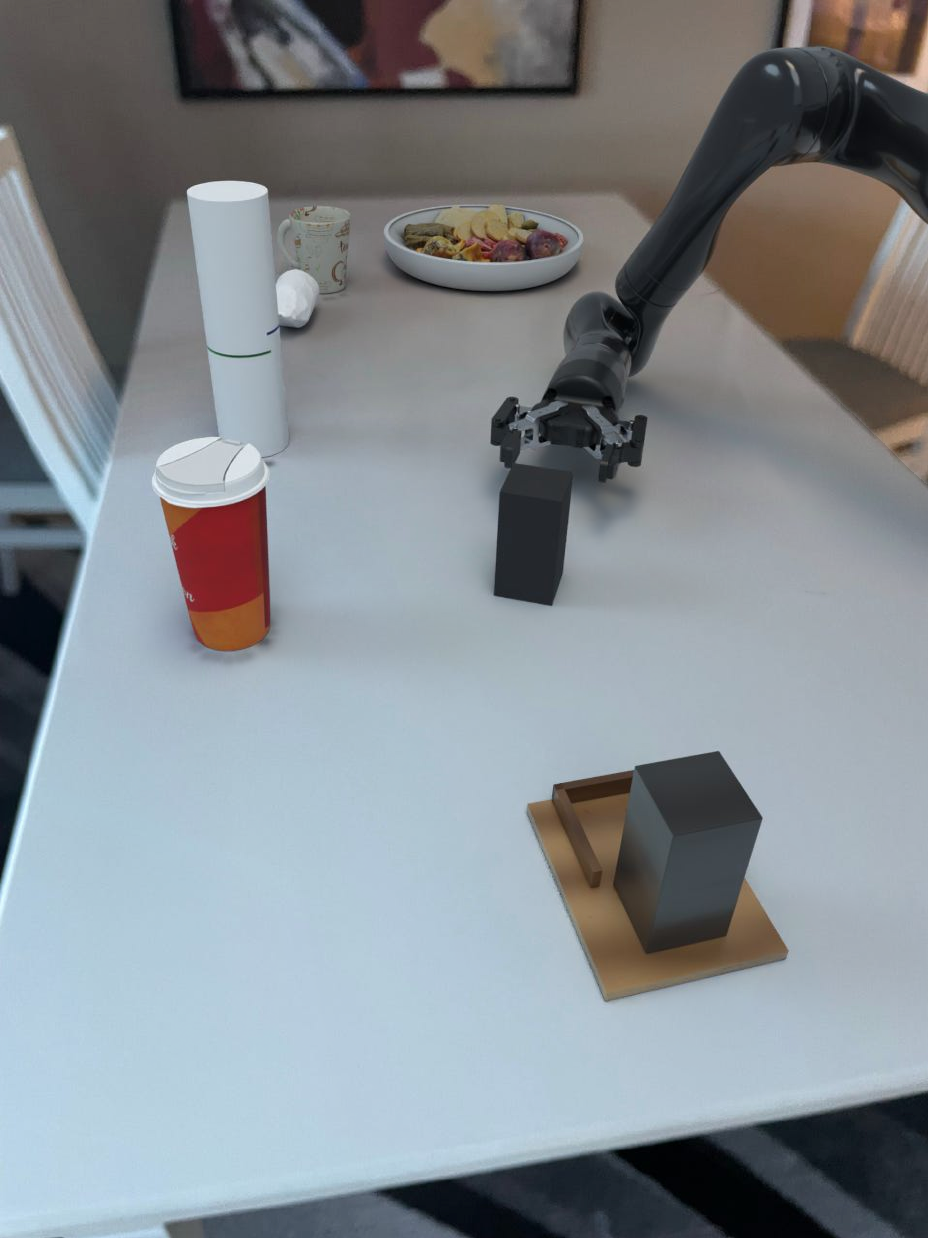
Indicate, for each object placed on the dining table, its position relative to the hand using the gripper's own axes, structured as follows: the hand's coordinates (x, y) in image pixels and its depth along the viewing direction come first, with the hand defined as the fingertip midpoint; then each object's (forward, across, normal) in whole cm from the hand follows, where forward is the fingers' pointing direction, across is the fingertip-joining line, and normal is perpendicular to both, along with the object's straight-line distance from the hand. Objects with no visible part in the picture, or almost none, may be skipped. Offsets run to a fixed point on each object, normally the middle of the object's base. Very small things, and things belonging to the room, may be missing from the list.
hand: (555, 466), depth 88 cm
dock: (+38, +14, +7) cm, 40 cm away
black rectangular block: (+9, 0, +7) cm, 11 cm away
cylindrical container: (-8, -33, +7) cm, 35 cm away
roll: (-40, -42, +7) cm, 58 cm away
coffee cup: (+22, -21, +7) cm, 31 cm away
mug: (-56, -46, +7) cm, 72 cm away
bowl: (-72, -25, +7) cm, 77 cm away
